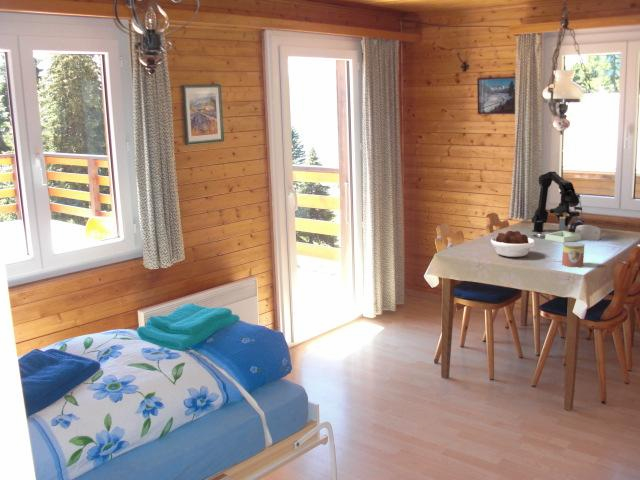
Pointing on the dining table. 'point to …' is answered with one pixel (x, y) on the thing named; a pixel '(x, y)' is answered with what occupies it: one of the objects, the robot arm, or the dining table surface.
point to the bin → (563, 237)
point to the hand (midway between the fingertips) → (563, 225)
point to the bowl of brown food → (512, 244)
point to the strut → (563, 223)
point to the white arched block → (589, 232)
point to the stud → (539, 235)
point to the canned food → (573, 254)
